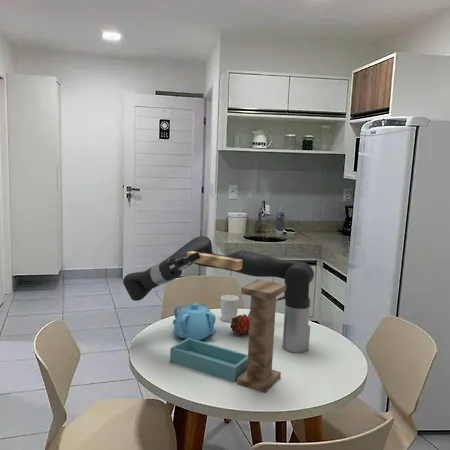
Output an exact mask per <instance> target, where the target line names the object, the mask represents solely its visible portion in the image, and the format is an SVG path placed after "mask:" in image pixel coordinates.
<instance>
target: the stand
mask: <svg viewBox="0 0 450 450" xmlns="http://www.w3.org/2000/svg"><path fill="white" fill-rule="evenodd" d="M284 291H286V284H285V283H280V282H274V281H270V280H264V279H259V278H258V279H256V280H254V281H252V282H250V283H248V284H245V285H244V286H241V287H240V294H241V295H246V296H250V308H249V312H250V325H249V333H248V345H247V348H248V349H247V355H248V364H247V370H246V371H245V372H244V373H243V374H241V375H240V376H239V377H238V378H237V381H236V385H238V386H241V387H245V388H248V389H251V390H254V391H256V392H260V393H263V394H266V393H267V392H268V391H269V390H270V389H271V388H272V387H273V386H274V385H275V384H276V383H277V382H278V381H279V380H280V379H281V374H282V372H281V371H278V370H275V369H273V359H274V358H273V357H274V353H273V352H274V341H275V340H274V337H275V322H276V321H275V320H276V305H277V304H276V303H277V301H276V299H277V297H278V296H279V295H281V294H282V293H284Z"/></svg>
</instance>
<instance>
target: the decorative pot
mask: <svg viewBox="0 0 450 450" xmlns="http://www.w3.org/2000/svg"><path fill="white" fill-rule="evenodd" d="M178 309H180V310H179V312H178ZM173 314H174V319H173V320H172V324H173V331H174V333H175V334H176V336H178V337H179V338H180V339H184V340H185V339H187V338H191V339H194V340H198V341H201V340H203V339H206V338H208V337H209V336H210V335H214V334H216V332H217V329H216V328H215V324H216V319H217V318H216V315H215V314H214V312H212V311H211V310H210V308H209V307H208V305H207V304H205V303H201V304H200V303H199V302H191V303H189V304H186V305H184V306H182V305H178V306H175V307H174V310H173Z"/></svg>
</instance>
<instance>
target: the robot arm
mask: <svg viewBox="0 0 450 450" xmlns="http://www.w3.org/2000/svg"><path fill="white" fill-rule="evenodd" d="M212 244H213V243H212V240H211V238H209V237H208V236H203V235H201V236H197V237H194V238H193V239H191V240H190V241H188V242H186V243H185V244H184V245H183V246H181V247H180V248H179V249H178V250H177V251H175V252H174V253H172V254H171V255H170V256H169V257H167V258H166V259H164V260H162V261H160V262H159V263H157V264H155V265H152V267H149V268H148V269H146V270H144V271H135V272H130V273H128V274H126V275H125V276H124V277H123V280H122V285H123V286H124V288H125V290H126V292H127V294H128V295H129V298H130V299H131V300H132V301H134V302H139V301H141V300H142V299H144V298H145V297H147V295H148V294H149V293H150V292H151V291H152V290H153V289H155V288H157V287H159V286H161V285H164V284H167V283H169V282H171V281H174V280H175V279H178V278H180V277H181V276H182V274H183V270H185V269H188V268H189V267H190V266H193V265H197V266H201V267H206V268H214V269H221V270H226V271H229V272H235V273H239V274H243V275H246V276H249V277H256V278H257V277H258V278H266V277H267V278H278V279H284V284H286V291H284V292H283V293H284V294H283V295H284V296H283V297H285V299H284V302H285V303H284V315H283V316H284V317H283V318H284V319H283V334H282V348H283V350H285V351H287V352H290V353H295V354H297V353H298V354H299V353H300V354H301V353H304V352H306V351H309V349H310V338H311V325H310V324H309V322H310V321H309V319H310V307H311V306H310V305H311V299H310V297H309V292H310V284H311V282H312V281H313V280H314V277H315V271H314V269H313V268H312V266H311V265H310V264H308V263H306V262H304V261H295V260H286V259H280V258H276V257H273V256H269V255H265V254H261V253H257V252H252V251H249V250H238V251H237V250H236V252H235V251H234V252H232V253H229V254H225V255H222V254H217V253H214V252H213V245H212ZM191 251H194V252H196V253H194V254H192V255H190V256H187V252H191ZM198 252H200V253H206V254H212V255H217V256H223V257H229V258H235V259H241V260H242V269H240V270H238V271H237V270H232V269H227V268H221V267H216V266H210V265H205V264H200V263H194V262H193V261H195V260H197V259H199V258H200V255H199V253H198Z"/></svg>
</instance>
